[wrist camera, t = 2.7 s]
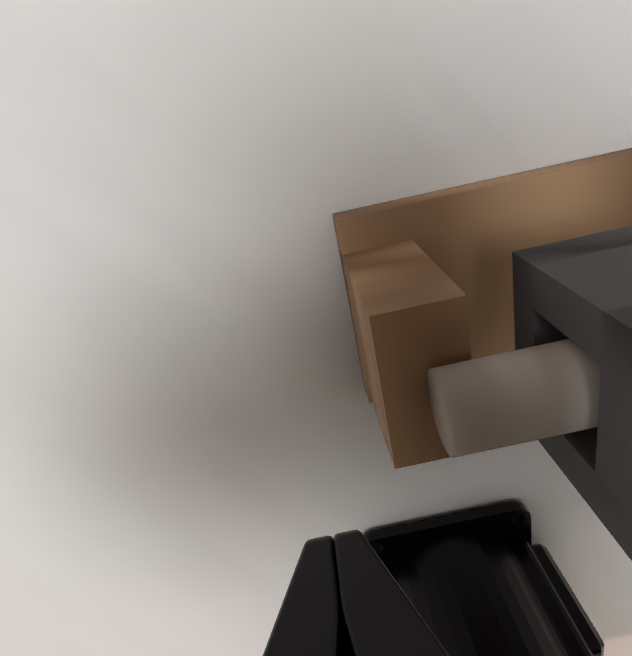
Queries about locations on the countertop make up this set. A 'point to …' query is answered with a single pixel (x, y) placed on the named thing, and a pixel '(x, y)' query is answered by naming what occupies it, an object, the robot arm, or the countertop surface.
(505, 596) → the robot arm
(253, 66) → the countertop surface
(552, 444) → the charcoal grey block
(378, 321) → the rail
